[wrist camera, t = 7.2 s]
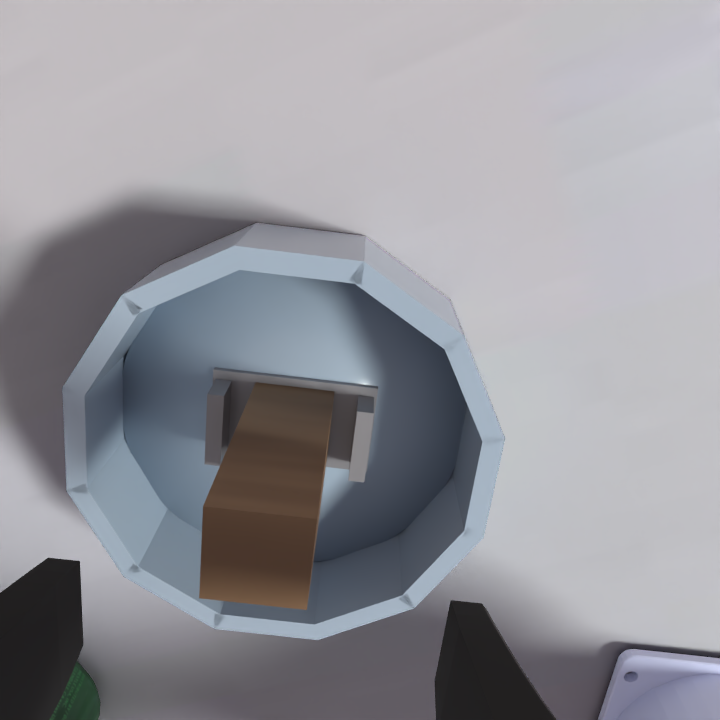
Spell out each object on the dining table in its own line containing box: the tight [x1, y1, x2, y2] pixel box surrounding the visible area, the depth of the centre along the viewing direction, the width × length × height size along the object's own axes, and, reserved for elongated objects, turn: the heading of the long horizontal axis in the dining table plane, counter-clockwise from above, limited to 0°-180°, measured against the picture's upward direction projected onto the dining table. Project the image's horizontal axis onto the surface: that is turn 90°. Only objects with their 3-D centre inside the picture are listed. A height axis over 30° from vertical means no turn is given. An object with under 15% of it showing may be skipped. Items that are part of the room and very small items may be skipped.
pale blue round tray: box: [62, 223, 505, 640], centre depth 21 cm, size 12×12×4 cm
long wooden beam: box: [199, 382, 335, 610], centre depth 18 cm, size 2×2×7 cm
